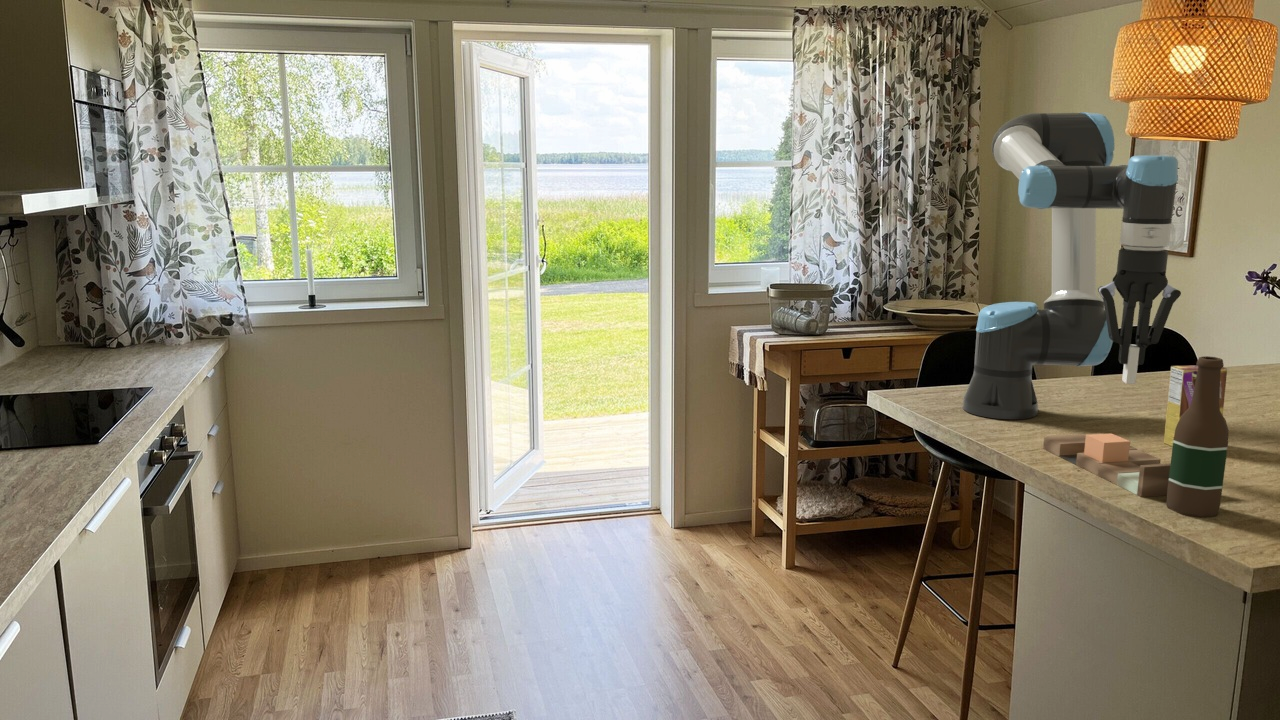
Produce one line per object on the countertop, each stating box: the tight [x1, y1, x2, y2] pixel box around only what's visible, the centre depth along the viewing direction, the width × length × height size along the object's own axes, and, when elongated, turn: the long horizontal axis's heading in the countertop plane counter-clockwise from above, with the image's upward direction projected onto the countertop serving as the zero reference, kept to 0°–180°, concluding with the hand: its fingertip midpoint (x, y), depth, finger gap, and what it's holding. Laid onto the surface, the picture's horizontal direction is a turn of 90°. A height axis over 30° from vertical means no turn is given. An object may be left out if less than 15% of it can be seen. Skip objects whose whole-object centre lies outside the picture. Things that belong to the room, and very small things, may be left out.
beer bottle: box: [1166, 356, 1229, 518], centre depth 149 cm, size 8×8×24 cm
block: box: [1084, 433, 1131, 462], centre depth 170 cm, size 5×5×4 cm
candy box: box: [1163, 364, 1228, 448], centre depth 184 cm, size 9×4×15 cm, turn 96°
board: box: [1043, 432, 1171, 498], centre depth 170 cm, size 27×12×5 cm, turn 11°
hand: (1128, 382), depth 171 cm, fingers closed
